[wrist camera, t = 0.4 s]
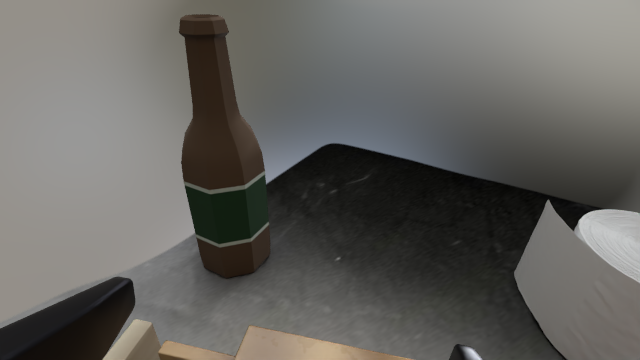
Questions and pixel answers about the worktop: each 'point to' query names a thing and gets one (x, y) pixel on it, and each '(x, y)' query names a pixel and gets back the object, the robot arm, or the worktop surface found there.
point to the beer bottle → (221, 158)
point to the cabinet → (299, 348)
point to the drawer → (156, 347)
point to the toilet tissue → (585, 283)
